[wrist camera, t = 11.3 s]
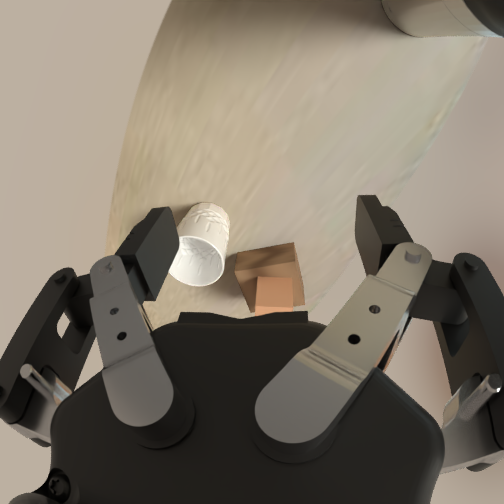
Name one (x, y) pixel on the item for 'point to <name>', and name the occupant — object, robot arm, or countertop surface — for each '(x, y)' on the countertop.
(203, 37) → the countertop surface
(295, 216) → the countertop surface
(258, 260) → the walnut block
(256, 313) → the terracotta block
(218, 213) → the white cup
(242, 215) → the countertop surface
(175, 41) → the countertop surface
